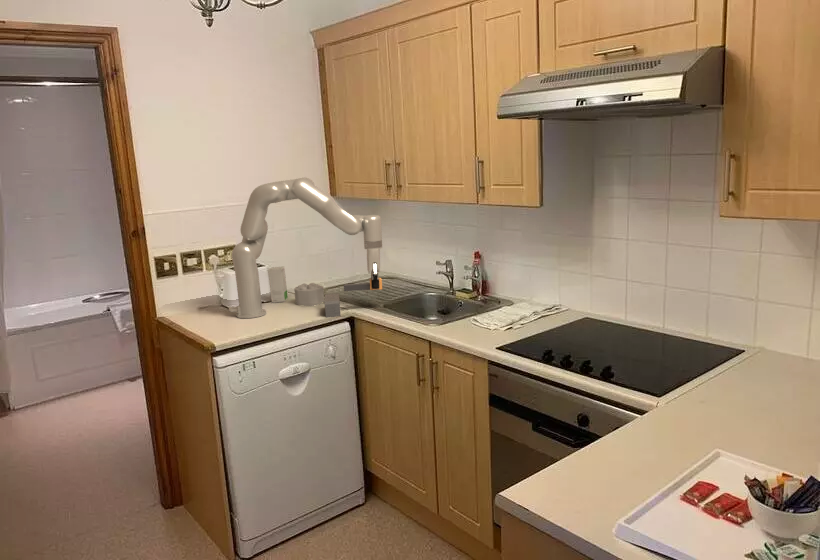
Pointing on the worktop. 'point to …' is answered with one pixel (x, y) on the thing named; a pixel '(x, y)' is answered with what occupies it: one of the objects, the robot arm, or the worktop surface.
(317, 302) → the lumpy-topped squat cylinder
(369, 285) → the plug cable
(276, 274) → the skincare box
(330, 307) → the block
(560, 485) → the worktop surface
